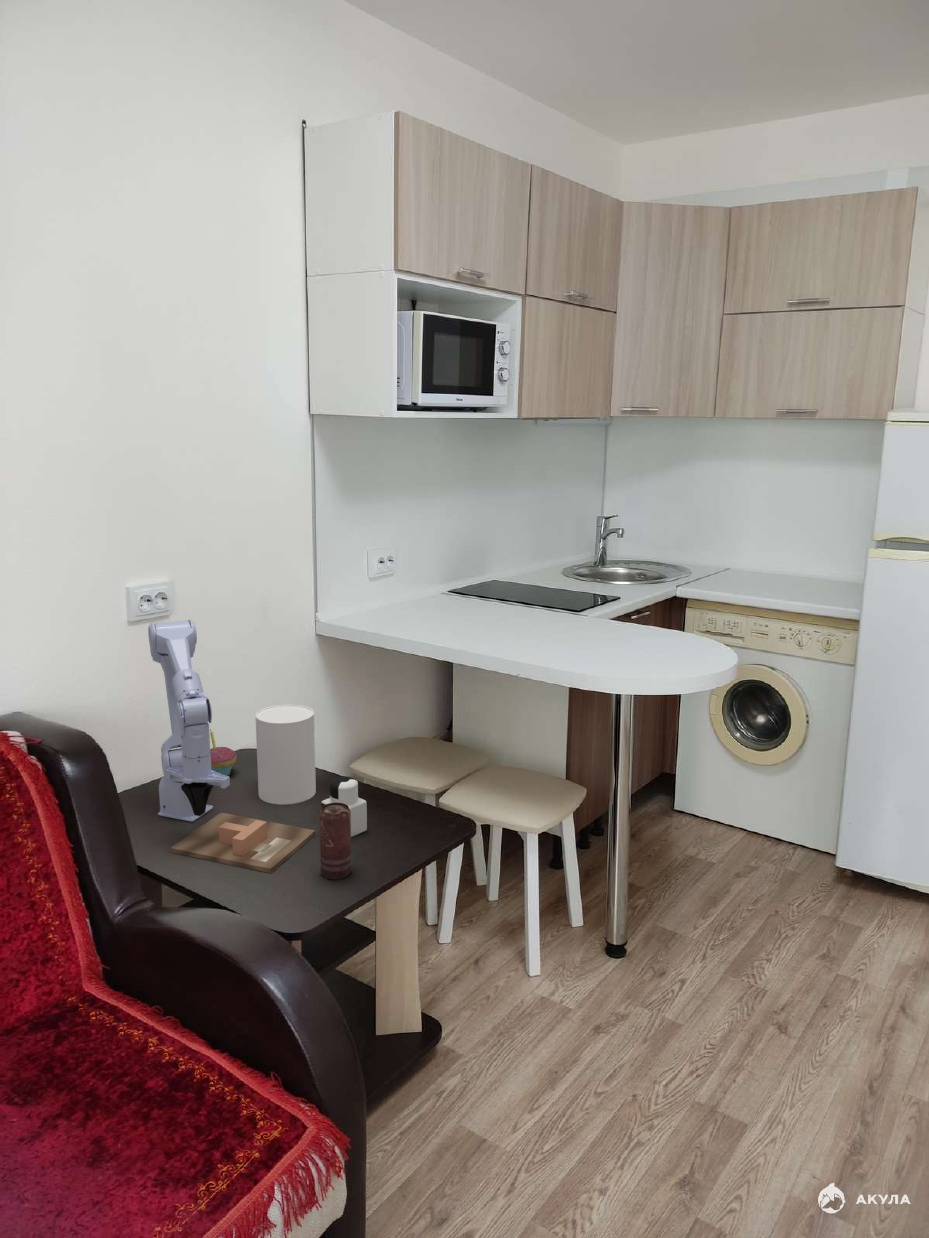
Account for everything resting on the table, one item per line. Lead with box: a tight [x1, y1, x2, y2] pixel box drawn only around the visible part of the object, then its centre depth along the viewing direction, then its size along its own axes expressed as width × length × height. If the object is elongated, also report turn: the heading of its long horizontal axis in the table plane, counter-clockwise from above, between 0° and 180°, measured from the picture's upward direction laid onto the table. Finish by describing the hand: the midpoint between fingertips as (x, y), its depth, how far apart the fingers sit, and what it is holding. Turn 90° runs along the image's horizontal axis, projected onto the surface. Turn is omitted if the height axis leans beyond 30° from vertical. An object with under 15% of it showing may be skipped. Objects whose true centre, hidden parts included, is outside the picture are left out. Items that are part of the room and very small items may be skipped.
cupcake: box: [209, 728, 238, 776], centre depth 226 cm, size 9×8×12 cm
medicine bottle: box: [321, 775, 368, 838], centre depth 197 cm, size 7×7×12 cm
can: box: [319, 803, 352, 880], centre depth 179 cm, size 6×6×14 cm
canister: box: [255, 703, 317, 805], centre depth 215 cm, size 14×14×20 cm
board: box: [169, 812, 316, 874], centre depth 192 cm, size 24×18×1 cm
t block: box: [219, 819, 267, 856], centre depth 190 cm, size 8×9×4 cm
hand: (199, 813), depth 192 cm, fingers closed
